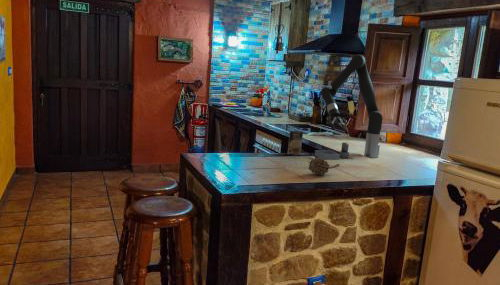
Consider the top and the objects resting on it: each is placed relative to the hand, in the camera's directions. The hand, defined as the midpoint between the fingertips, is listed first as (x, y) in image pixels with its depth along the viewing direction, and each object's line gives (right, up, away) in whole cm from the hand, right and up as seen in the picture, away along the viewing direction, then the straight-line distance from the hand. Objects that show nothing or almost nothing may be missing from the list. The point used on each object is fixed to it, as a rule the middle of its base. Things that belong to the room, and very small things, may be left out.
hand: (339, 129), depth 291 cm
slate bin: (-11, -20, -10) cm, 25 cm away
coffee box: (-32, -17, 0) cm, 36 cm away
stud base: (+2, -21, -6) cm, 22 cm away
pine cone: (-20, -27, -52) cm, 62 cm away
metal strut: (+2, -19, -6) cm, 20 cm away
